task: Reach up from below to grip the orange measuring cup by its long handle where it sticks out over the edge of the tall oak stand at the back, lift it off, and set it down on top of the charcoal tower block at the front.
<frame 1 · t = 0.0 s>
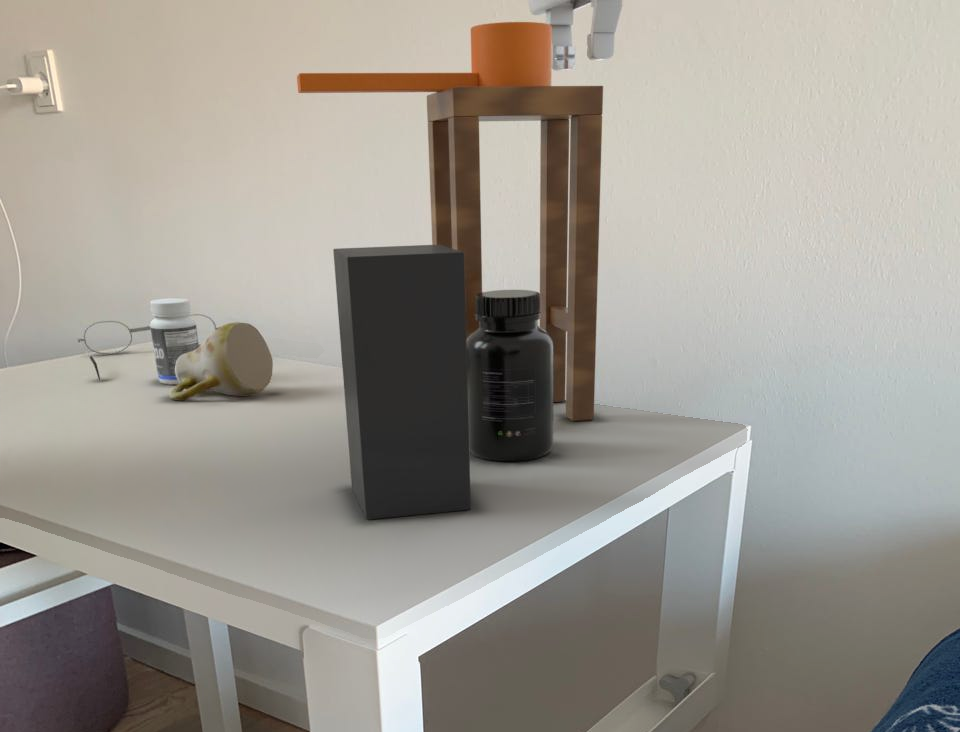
hand: (580, 65, 85), 28 cm above the table, tool pointing down, fingers open, 8 cm apart
eyeglasses: (166, 362, 121), on the table
measuring cup: (511, 90, 81), point 26 cm above the table, touching tall stand
charcoal tower block: (409, 499, 69), on the table
tall stand: (513, 412, 92), on the table
pill bottle: (181, 382, 109), on the table
supplement bottle: (510, 453, 80), on the table
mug: (220, 396, 102), on the table
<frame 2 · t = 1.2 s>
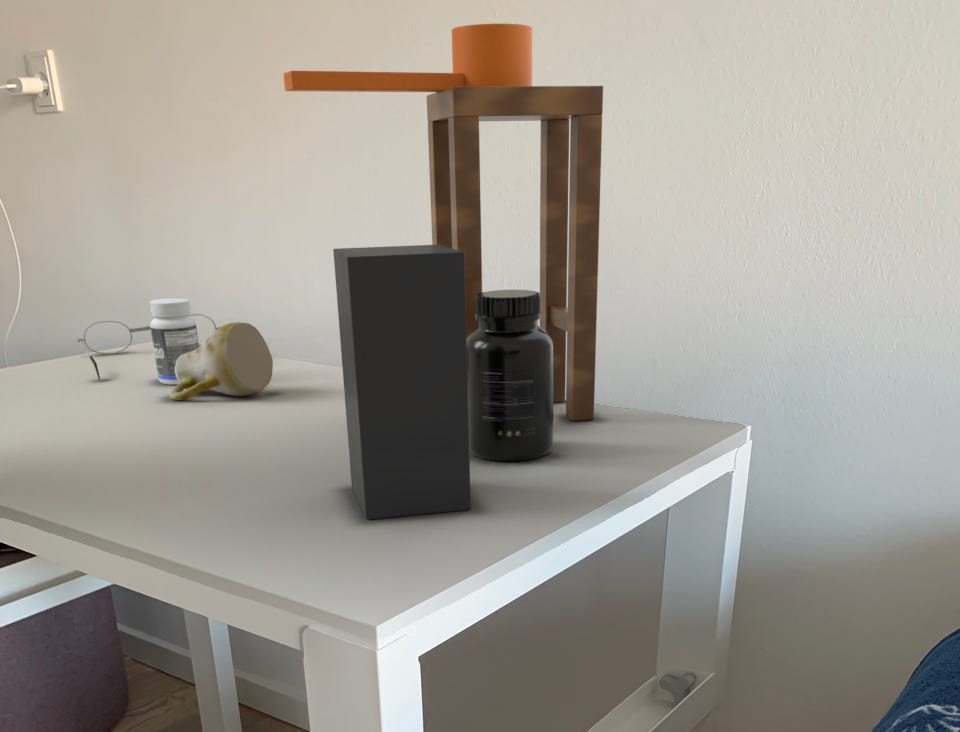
measuring cup: (492, 91, 81), point 26 cm above the table, touching tall stand
everything else where it was.
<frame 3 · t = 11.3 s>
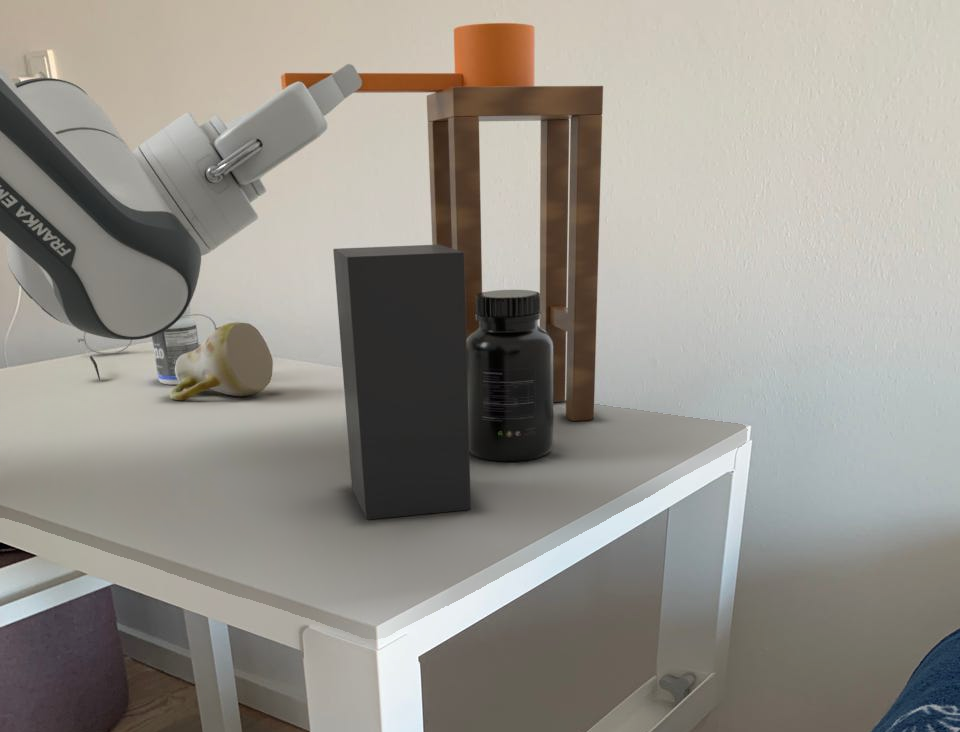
hand: (353, 75, 78), 27 cm above the table, tool pointing upward, fingers closed on measuring cup, 2 cm apart
measuring cup: (494, 91, 81), point 26 cm above the table, touching gripper, tall stand
everything else where it was.
when the fingers open (17 cm above the table, at t = 22.3 s): measuring cup stays where it is, resting on charcoal tower block.
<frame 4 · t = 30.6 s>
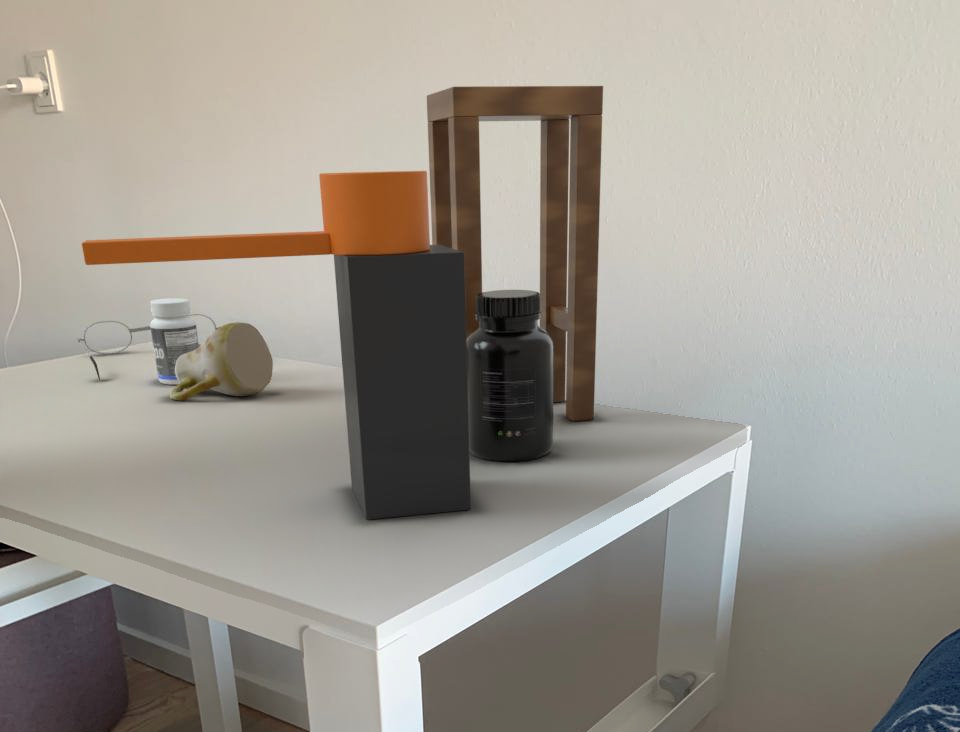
measuring cup: (378, 251, 62), point 16 cm above the table, touching charcoal tower block
everything else where it was.
at the end: measuring cup inside the target area on the charcoal tower block (1.2 cm from its centre), point 16.0 cm above the charcoal tower block's base; measuring cup tilted 0°; the gripper is holding nothing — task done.
